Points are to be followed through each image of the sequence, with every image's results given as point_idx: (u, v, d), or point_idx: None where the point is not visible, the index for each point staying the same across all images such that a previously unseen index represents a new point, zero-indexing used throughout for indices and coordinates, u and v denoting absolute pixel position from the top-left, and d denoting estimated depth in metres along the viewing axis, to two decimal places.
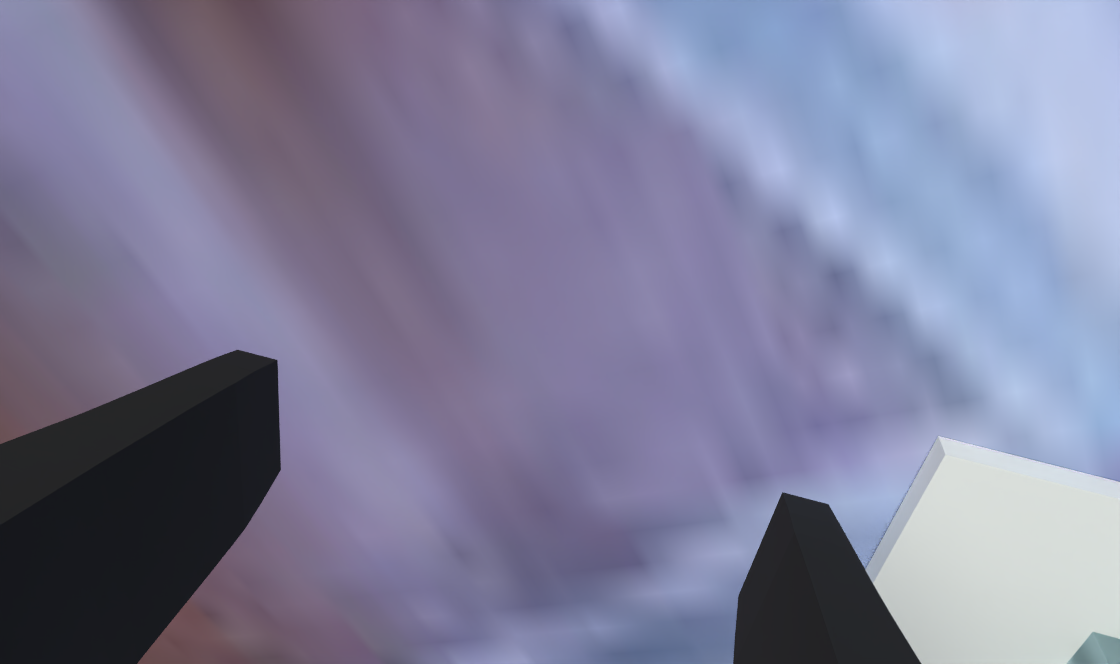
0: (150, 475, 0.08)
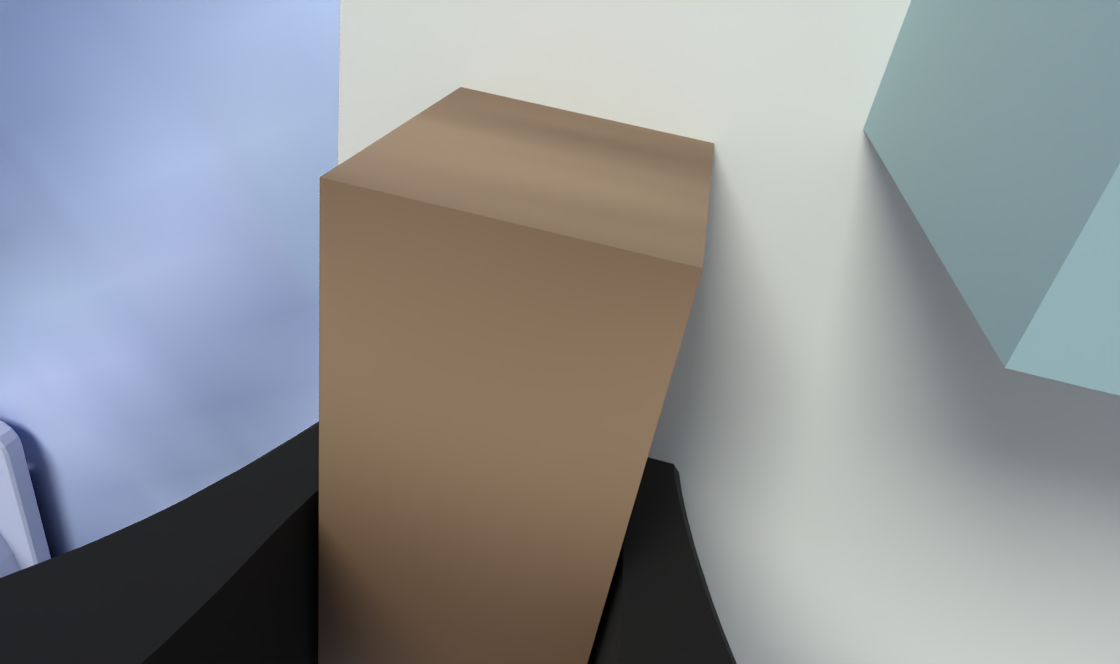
0: None
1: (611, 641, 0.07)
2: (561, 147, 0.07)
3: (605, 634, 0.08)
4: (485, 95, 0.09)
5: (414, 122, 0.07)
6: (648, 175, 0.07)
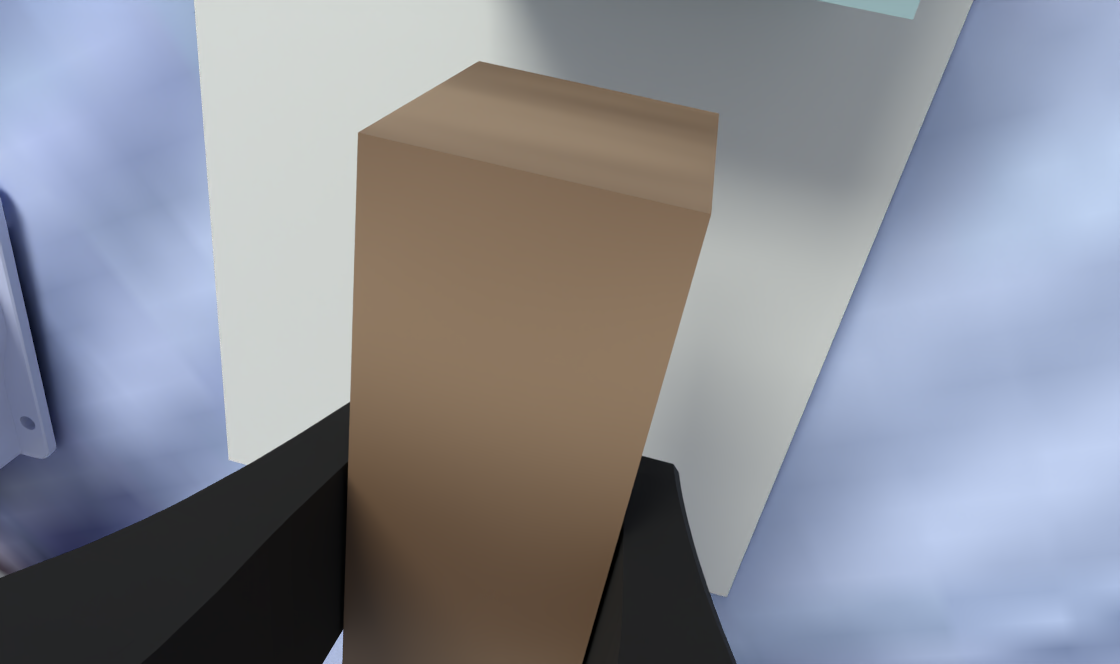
0: (322, 523, 0.08)
1: (611, 641, 0.07)
2: (576, 113, 0.08)
3: (605, 634, 0.08)
4: (502, 67, 0.09)
5: (439, 89, 0.08)
6: (658, 138, 0.08)
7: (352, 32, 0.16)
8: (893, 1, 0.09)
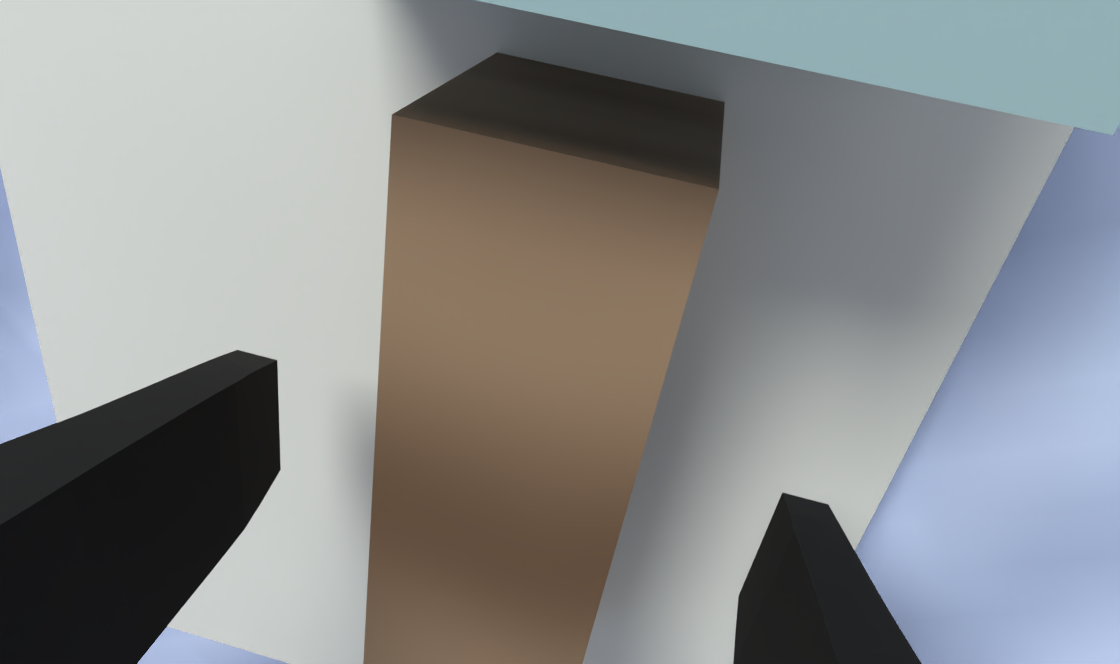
0: (150, 475, 0.08)
1: None
2: (591, 100, 0.09)
3: None
4: (519, 59, 0.10)
5: (462, 77, 0.08)
6: (668, 123, 0.08)
7: (190, 84, 0.11)
8: (1073, 98, 0.04)
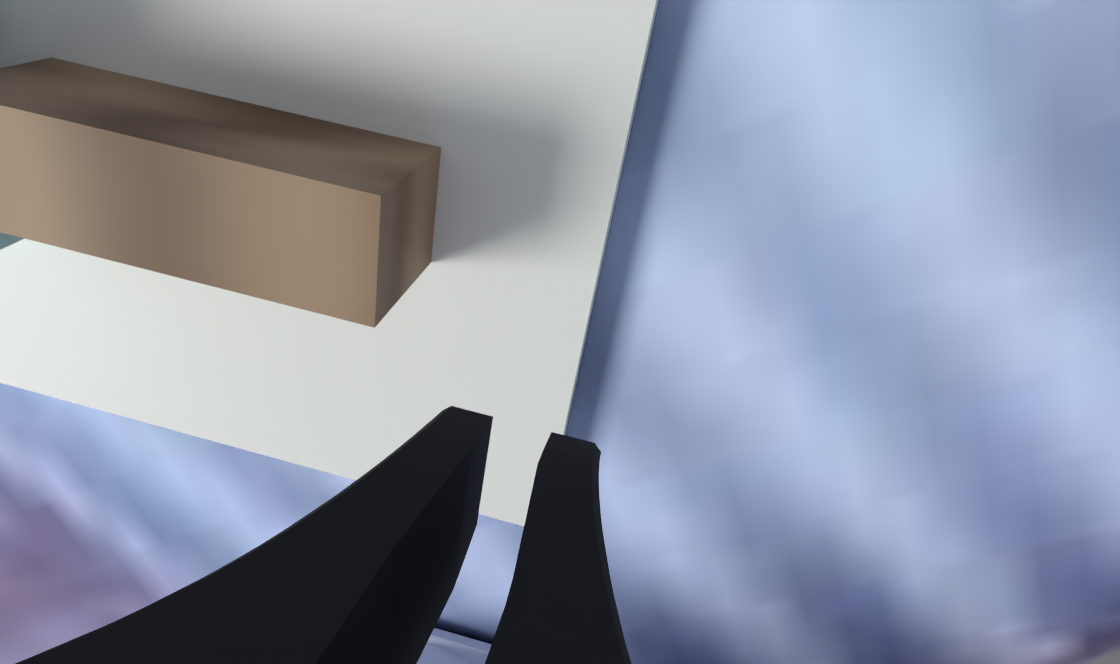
0: (417, 550, 0.08)
1: None
2: None
3: None
4: None
5: None
6: None
7: (137, 328, 0.22)
8: None
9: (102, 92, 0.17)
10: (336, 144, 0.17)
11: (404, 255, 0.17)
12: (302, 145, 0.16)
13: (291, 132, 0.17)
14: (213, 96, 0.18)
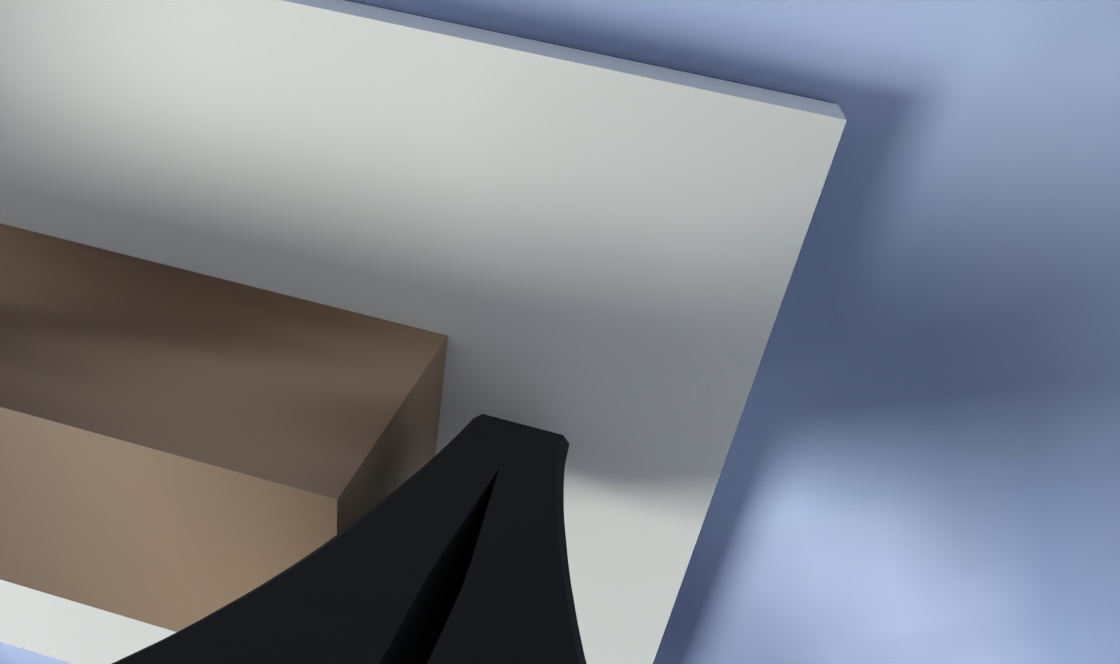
0: (456, 561, 0.08)
1: None
2: None
3: None
4: None
5: None
6: None
7: None
8: None
9: None
10: (271, 351, 0.10)
11: None
12: (209, 359, 0.09)
13: (196, 325, 0.10)
14: (80, 248, 0.11)
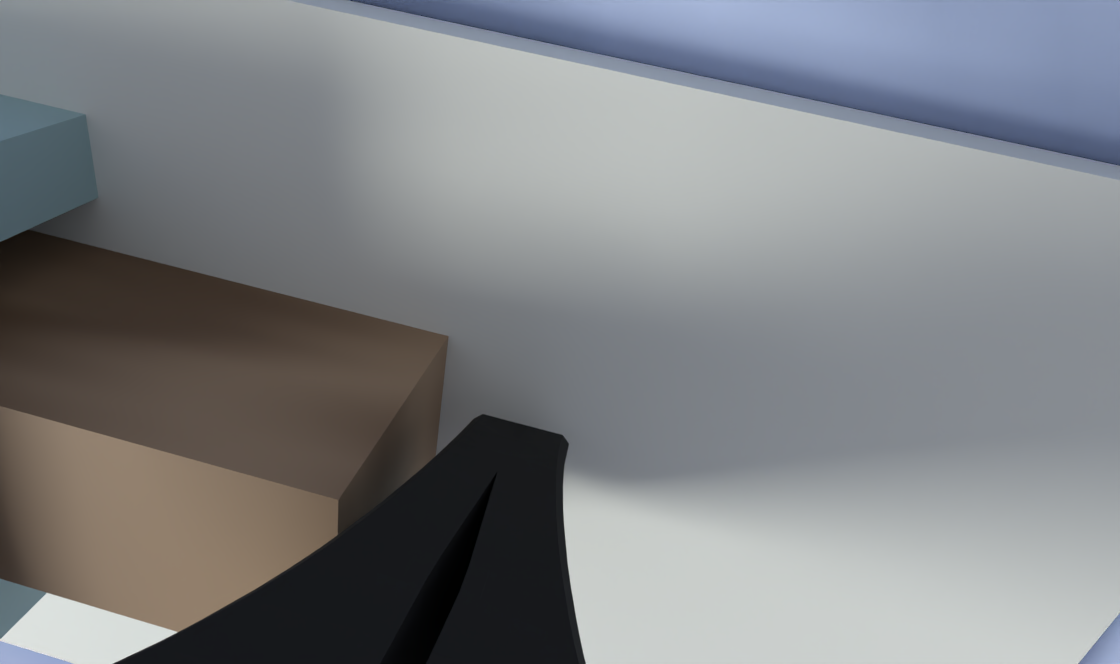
0: (457, 561, 0.08)
1: None
2: None
3: None
4: None
5: None
6: None
7: None
8: None
9: None
10: (272, 351, 0.10)
11: None
12: (210, 359, 0.09)
13: (196, 325, 0.10)
14: (81, 247, 0.11)
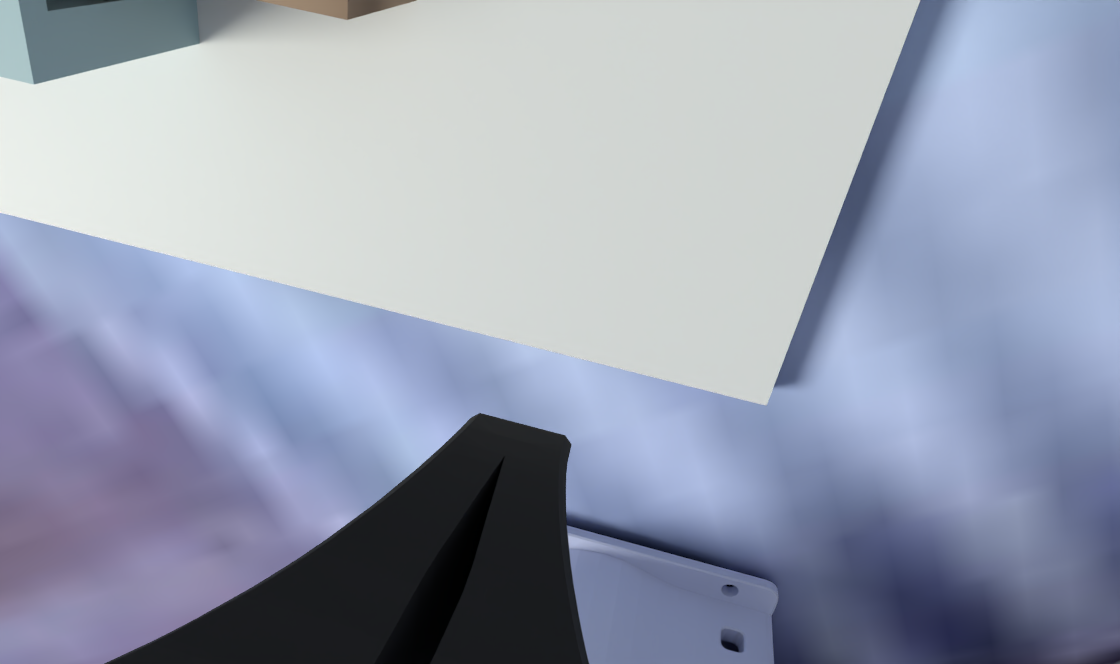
0: (453, 560, 0.08)
1: None
2: None
3: None
4: None
5: None
6: None
7: (304, 166, 0.19)
8: None
9: None
10: None
11: None
12: None
13: None
14: None
